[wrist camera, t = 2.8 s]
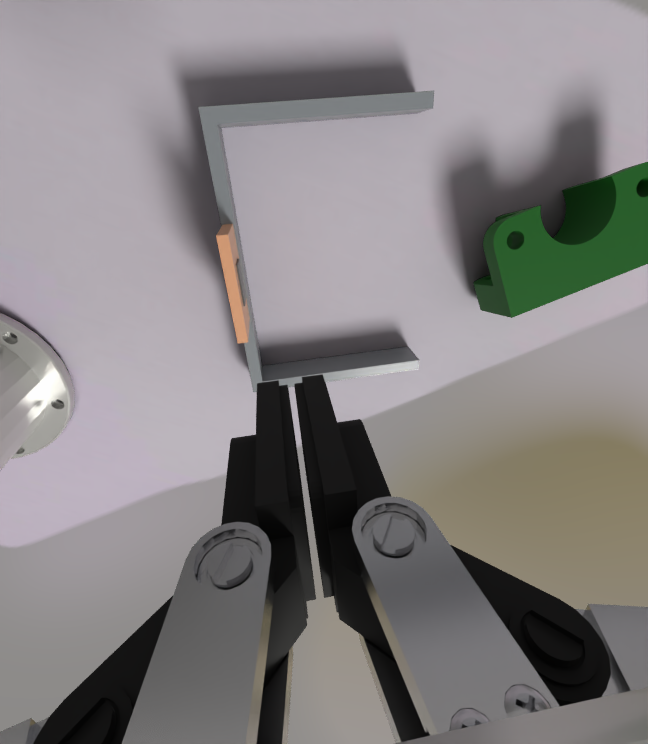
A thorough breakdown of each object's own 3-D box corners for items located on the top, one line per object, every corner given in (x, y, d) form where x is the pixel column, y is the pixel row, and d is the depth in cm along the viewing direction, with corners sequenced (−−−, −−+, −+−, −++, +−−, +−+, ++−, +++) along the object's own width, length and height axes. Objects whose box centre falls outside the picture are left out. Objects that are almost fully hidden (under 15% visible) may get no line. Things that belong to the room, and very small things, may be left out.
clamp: (541, 194, 32) (680, 146, 23) (556, 264, 33) (691, 242, 25) (436, 242, 27) (558, 205, 19) (458, 319, 29) (580, 315, 21)
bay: (417, 97, 23) (468, 76, 18) (407, 355, 32) (439, 396, 26) (204, 112, 22) (185, 94, 16) (253, 376, 31) (252, 424, 25)
